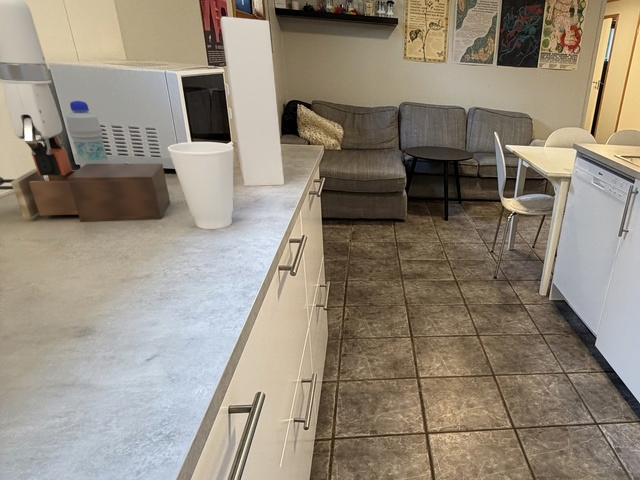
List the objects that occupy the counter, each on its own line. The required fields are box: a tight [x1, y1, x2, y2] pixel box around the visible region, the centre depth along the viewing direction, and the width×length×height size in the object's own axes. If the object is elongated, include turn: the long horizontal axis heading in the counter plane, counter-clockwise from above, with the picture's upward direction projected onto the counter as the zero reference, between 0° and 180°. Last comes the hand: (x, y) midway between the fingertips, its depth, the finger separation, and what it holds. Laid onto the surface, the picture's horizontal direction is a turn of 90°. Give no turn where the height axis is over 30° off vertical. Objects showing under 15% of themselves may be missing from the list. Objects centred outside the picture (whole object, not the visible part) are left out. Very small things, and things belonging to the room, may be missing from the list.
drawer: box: [0, 168, 78, 219], centre depth 98 cm, size 20×11×7 cm, turn 110°
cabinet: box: [67, 163, 171, 223], centre depth 102 cm, size 15×13×9 cm
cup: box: [167, 141, 235, 230], centre depth 97 cm, size 12×12×16 cm
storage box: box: [219, 16, 285, 187], centre depth 130 cm, size 21×10×40 cm, turn 24°
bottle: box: [65, 100, 110, 168], centre depth 116 cm, size 7×7×20 cm
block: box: [31, 148, 73, 175], centre depth 96 cm, size 4×4×4 cm
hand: (55, 171), depth 96 cm, fingers closed on block, 4 cm apart
